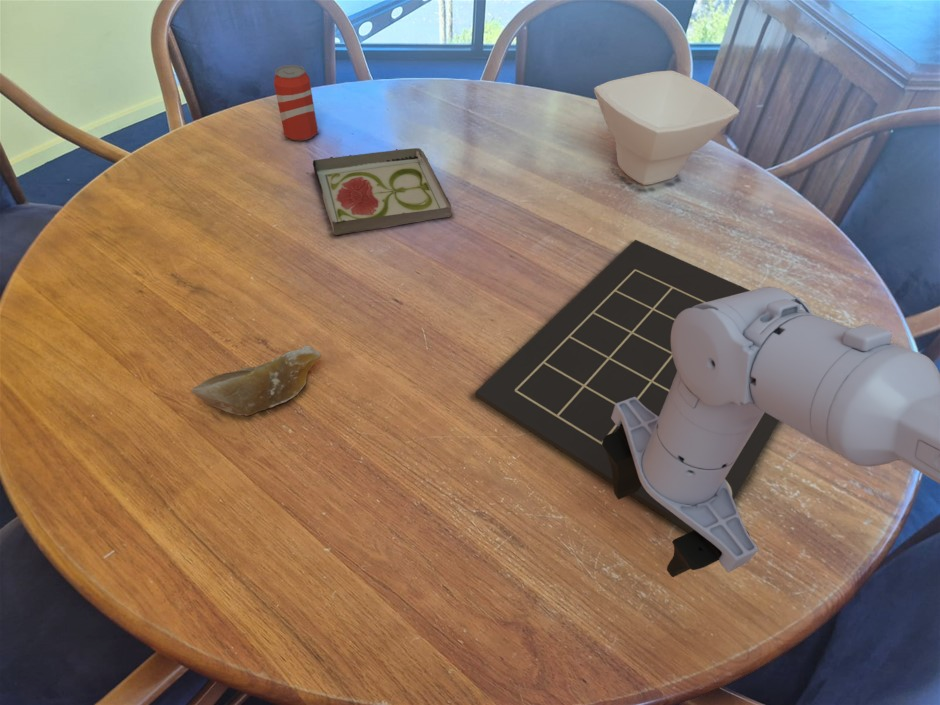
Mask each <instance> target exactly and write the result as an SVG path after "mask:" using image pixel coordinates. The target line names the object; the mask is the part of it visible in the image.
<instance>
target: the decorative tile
mask: <svg viewBox="0 0 940 705" xmlns="http://www.w3.org/2000/svg"><path fill="white" fill-rule="evenodd" d="M312 166H313V171H314V174H315V177H316V180H317V183H318V186H319V189H320V193H321V196H322V199H323V203H324V206H325V209H326V213H327V215H328V216H327V217H328V219H329V221H330V222H329V223H330V226H331V228H332V234H333V235H335V236H341V235H345V234H353V233H358V232H364V231H372V230H379V229H386V228H392V227H396V226H401V225H408V224H412V223H419V222H424V221H430V220H436V219H442V218H443V219H444V218H449V217H451V216H452V208H451V206H452V204H451V202H450V201H449V198H448V197H447V195H446V194H445V191H444V188H442V186H441V183H440V181H439V179H438V178H437V176H436V173H435V171H434V169H433V168H432V166H431V164H430V162H429V159H428V157H427V156H426V154H425V152H424V151H423V150H422V149H421V148H419V147H415V148H413V147H412V148H404V149H397V148H396V149H393V150H386V151H377V152H370V153H369V152H368V153H361V154H360V153H359V154H349V155H344V156H343V155H342V156H336V157H334V156H329V158H328V157H327V158H320V159H313V160H312Z"/></svg>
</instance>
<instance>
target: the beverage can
mask: <svg viewBox="0 0 940 705" xmlns="http://www.w3.org/2000/svg"><path fill="white" fill-rule="evenodd" d="M274 74H275V75H274V80H273V86H274V91H275V95H276V100H277V101H276V102H277V104H278V110H279V114H280V115H279V116H280V120H281V126H282V130H283V134H284V136H285V137H287V138H289V139H290V140H293V141H297V142H304V141H309V140H310V139H312V138H313V137H314V136H316V135H317V134H318V124H317V123H318V122H317V118H316V110H315V104H314V99H313V91H312V86H311V81H310V80H311V79H310V76H309V75H308V74H307V72H306V70H305V67H303V66H301V65H297V64H288V65H281V66H279V67H277V68H276V69H275V73H274Z"/></svg>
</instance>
